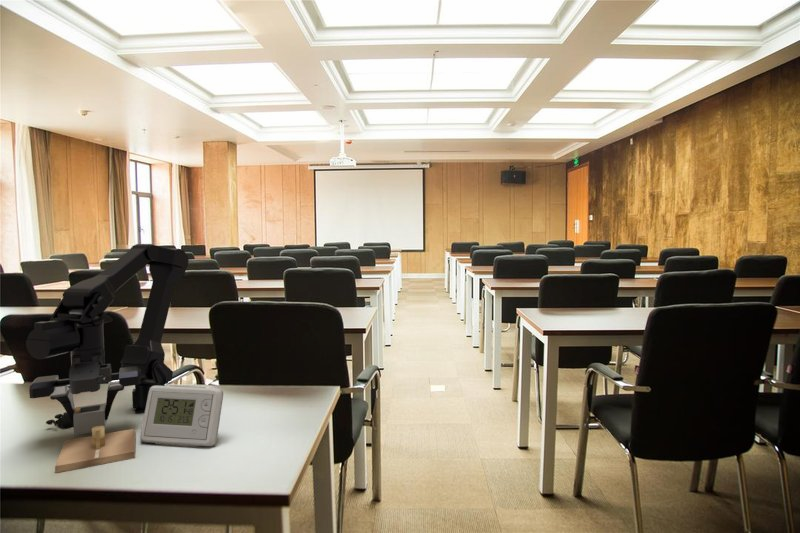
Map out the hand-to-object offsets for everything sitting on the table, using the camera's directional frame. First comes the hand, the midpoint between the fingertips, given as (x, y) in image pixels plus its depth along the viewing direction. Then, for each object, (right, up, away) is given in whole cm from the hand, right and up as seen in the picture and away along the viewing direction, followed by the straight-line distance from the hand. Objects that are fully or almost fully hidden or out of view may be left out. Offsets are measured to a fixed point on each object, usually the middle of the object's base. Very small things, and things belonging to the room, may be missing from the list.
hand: (90, 422), depth 98 cm
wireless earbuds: (-9, -3, +5) cm, 11 cm away
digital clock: (+20, -3, -3) cm, 21 cm away
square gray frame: (0, -1, 0) cm, 1 cm away
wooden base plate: (+7, -3, -8) cm, 10 cm away
